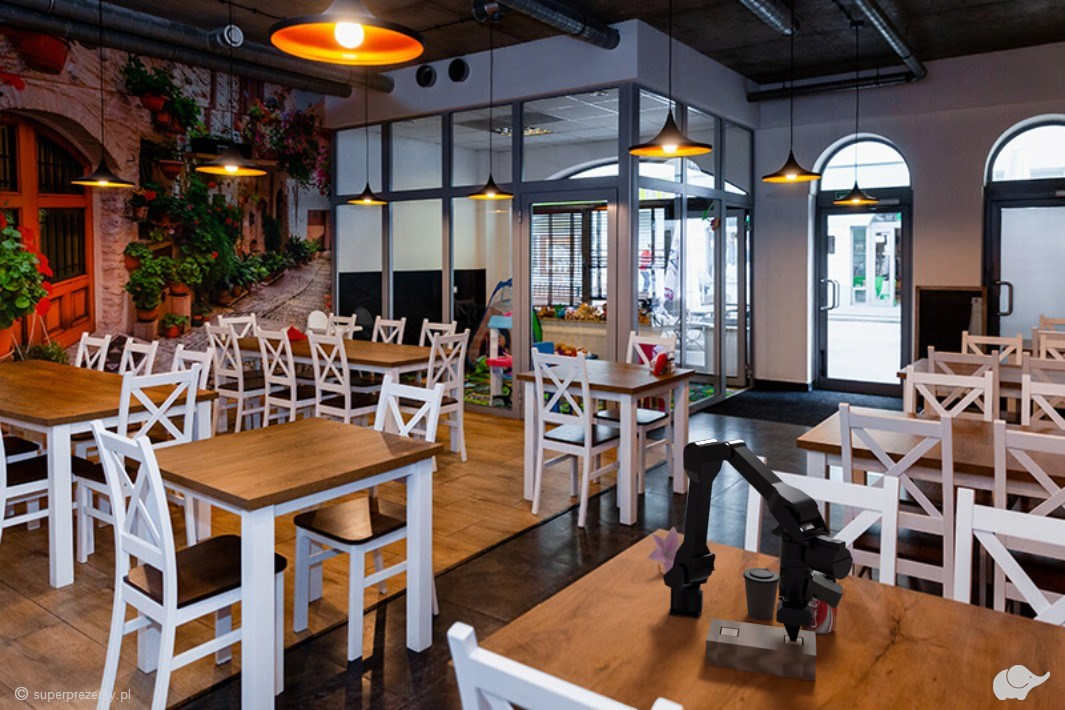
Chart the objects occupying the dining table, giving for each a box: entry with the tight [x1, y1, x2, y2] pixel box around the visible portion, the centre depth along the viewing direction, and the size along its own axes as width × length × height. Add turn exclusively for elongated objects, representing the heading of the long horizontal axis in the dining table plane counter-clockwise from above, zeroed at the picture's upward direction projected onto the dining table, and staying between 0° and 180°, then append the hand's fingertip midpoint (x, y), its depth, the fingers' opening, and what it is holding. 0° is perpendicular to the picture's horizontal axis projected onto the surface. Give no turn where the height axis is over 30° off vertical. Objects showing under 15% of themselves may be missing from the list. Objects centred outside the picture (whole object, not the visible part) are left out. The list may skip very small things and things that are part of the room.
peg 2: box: [785, 636, 802, 646], centre depth 152 cm, size 3×3×4 cm
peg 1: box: [721, 628, 738, 637], centre depth 156 cm, size 3×3×4 cm
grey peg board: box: [705, 617, 817, 682], centre depth 154 cm, size 20×10×5 cm, turn 71°
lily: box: [647, 526, 681, 574], centre depth 201 cm, size 12×12×10 cm
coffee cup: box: [742, 567, 779, 621], centre depth 174 cm, size 8×8×10 cm
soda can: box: [803, 570, 838, 635], centre depth 167 cm, size 7×7×12 cm
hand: (793, 640), depth 152 cm, fingers closed, pressing on peg 2
